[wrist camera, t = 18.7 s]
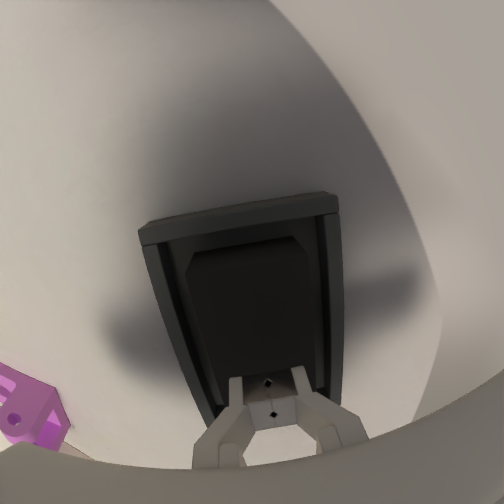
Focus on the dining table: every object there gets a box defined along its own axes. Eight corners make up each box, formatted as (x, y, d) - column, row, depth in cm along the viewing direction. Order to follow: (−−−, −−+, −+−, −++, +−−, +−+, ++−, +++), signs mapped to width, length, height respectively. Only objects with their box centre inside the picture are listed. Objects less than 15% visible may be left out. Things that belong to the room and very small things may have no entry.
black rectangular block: (193, 252, 14) (183, 274, 11) (292, 235, 14) (308, 253, 11) (231, 394, 17) (232, 428, 14) (306, 381, 17) (316, 414, 14)
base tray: (149, 221, 14) (136, 230, 12) (324, 191, 14) (338, 195, 12) (208, 408, 18) (207, 428, 16) (332, 386, 18) (341, 405, 16)
